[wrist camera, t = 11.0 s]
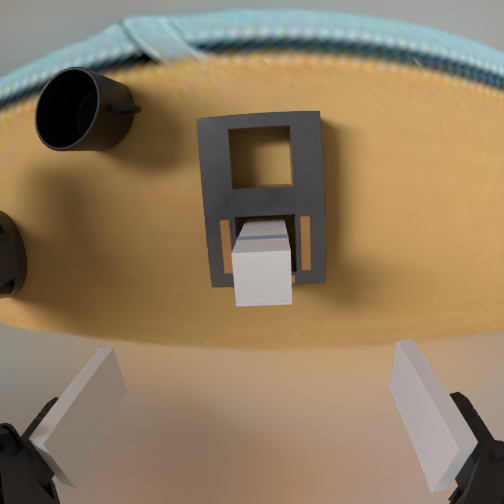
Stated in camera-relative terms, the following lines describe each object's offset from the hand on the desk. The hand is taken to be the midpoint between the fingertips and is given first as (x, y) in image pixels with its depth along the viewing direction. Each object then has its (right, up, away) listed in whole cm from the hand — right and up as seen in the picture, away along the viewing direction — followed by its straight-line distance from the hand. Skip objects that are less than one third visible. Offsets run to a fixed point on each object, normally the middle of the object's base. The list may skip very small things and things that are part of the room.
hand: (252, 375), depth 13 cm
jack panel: (+1, +12, +24) cm, 26 cm away
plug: (+2, +7, +25) cm, 26 cm away
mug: (-18, +23, +22) cm, 36 cm away
